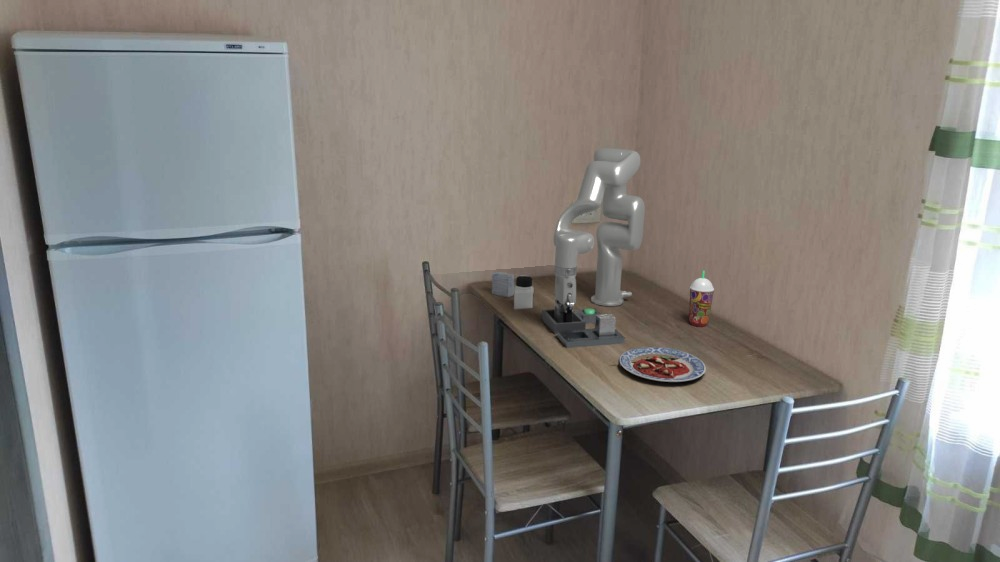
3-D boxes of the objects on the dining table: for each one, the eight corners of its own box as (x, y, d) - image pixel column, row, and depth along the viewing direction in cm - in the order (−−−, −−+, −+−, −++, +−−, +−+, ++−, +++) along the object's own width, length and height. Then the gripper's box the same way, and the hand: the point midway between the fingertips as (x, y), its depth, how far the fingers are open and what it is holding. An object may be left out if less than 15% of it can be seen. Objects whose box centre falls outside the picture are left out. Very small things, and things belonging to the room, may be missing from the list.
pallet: (612, 335, 246) (612, 327, 245) (624, 346, 237) (624, 337, 236) (556, 339, 242) (557, 331, 241) (566, 350, 232) (566, 342, 232)
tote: (570, 319, 260) (571, 308, 259) (585, 334, 247) (585, 322, 245) (541, 321, 258) (542, 309, 257) (554, 336, 244) (555, 324, 243)
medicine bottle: (533, 310, 270) (534, 279, 266) (514, 309, 270) (514, 279, 266) (532, 304, 277) (533, 274, 273) (514, 303, 277) (514, 273, 273)
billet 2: (609, 336, 243) (611, 313, 240) (614, 340, 239) (615, 317, 237) (593, 337, 241) (595, 314, 239) (598, 341, 238) (599, 318, 235)
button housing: (594, 318, 262) (595, 308, 261) (601, 325, 256) (602, 314, 254) (576, 319, 260) (576, 309, 259) (582, 326, 254) (583, 315, 253)
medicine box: (514, 295, 287) (514, 274, 284) (508, 298, 283) (508, 276, 281) (497, 291, 291) (498, 271, 288) (491, 294, 287) (492, 273, 285)
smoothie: (697, 329, 253) (703, 275, 248) (681, 322, 260) (686, 269, 255) (715, 326, 257) (721, 272, 251) (699, 318, 264) (704, 266, 258)
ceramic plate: (678, 396, 203) (679, 386, 202) (602, 369, 219) (603, 360, 218) (719, 369, 221) (720, 360, 220) (646, 347, 237) (647, 338, 237)
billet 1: (568, 322, 254) (569, 301, 252) (572, 326, 251) (573, 305, 248) (553, 323, 253) (554, 302, 251) (556, 327, 249) (557, 306, 247)
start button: (591, 317, 260) (592, 307, 259) (595, 320, 256) (596, 311, 255) (582, 317, 259) (583, 308, 258) (586, 321, 256) (586, 311, 255)
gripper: (584, 277, 239) (581, 326, 244) (567, 263, 255) (565, 309, 260) (563, 278, 237) (560, 327, 242) (547, 264, 253) (545, 310, 258)
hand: (563, 318), depth 251 cm, fingers open, 8 cm apart
